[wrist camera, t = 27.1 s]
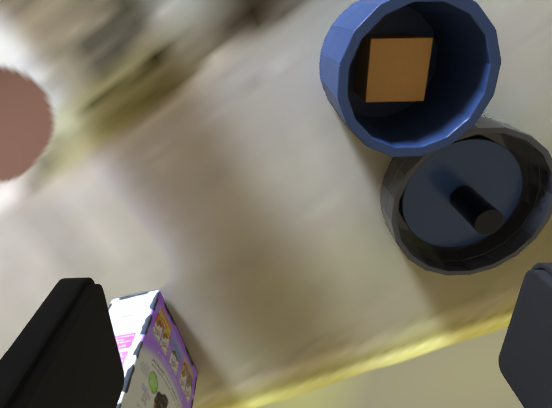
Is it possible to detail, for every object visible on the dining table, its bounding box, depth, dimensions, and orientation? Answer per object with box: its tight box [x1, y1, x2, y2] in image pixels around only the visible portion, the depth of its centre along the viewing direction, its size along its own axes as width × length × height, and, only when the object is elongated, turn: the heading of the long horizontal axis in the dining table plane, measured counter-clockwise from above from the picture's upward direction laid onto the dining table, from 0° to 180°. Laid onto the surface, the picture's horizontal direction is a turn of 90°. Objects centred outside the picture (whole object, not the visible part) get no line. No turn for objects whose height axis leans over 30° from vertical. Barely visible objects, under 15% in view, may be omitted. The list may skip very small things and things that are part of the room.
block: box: [353, 33, 433, 102], centre depth 31 cm, size 4×4×4 cm
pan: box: [381, 117, 552, 275], centre depth 37 cm, size 15×15×4 cm
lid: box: [401, 138, 523, 247], centre depth 36 cm, size 11×11×6 cm
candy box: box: [108, 290, 197, 408], centre depth 39 cm, size 14×6×16 cm, turn 13°
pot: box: [320, 0, 501, 157], centre depth 30 cm, size 10×10×9 cm
